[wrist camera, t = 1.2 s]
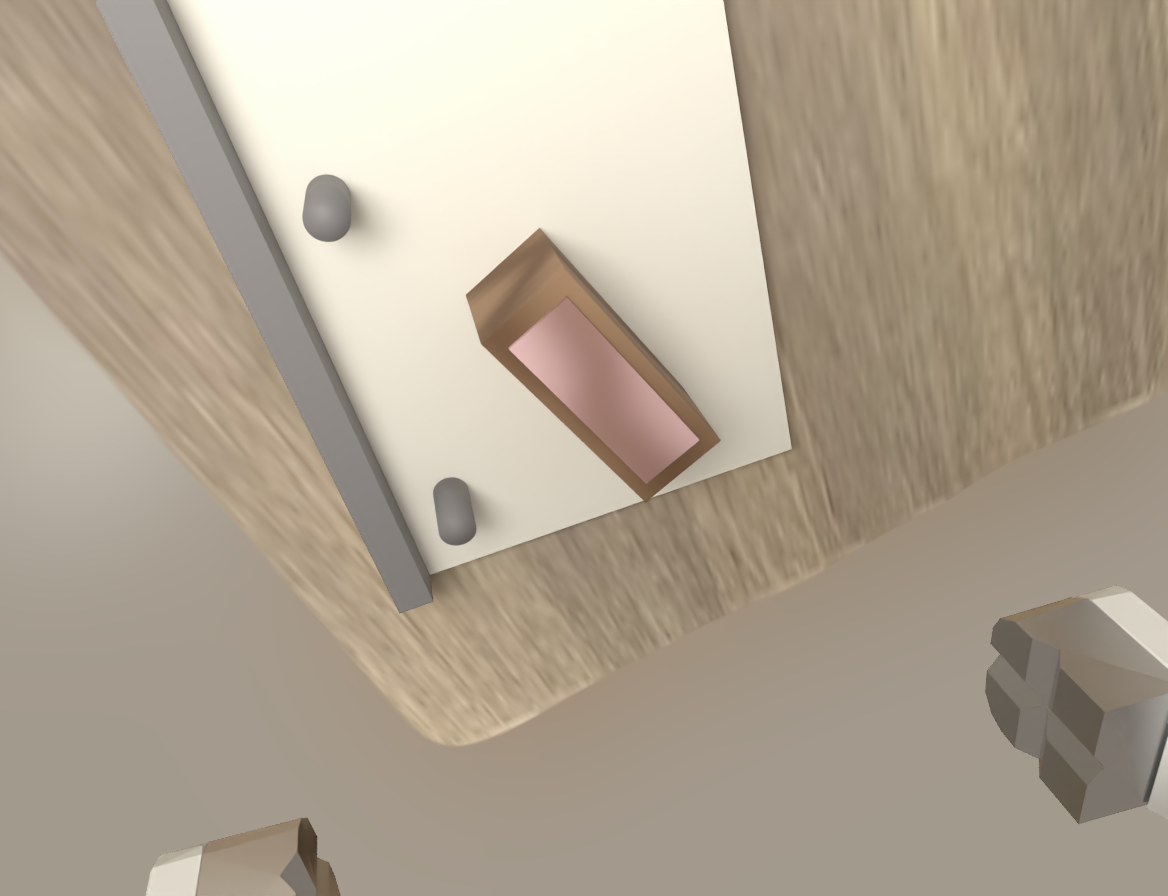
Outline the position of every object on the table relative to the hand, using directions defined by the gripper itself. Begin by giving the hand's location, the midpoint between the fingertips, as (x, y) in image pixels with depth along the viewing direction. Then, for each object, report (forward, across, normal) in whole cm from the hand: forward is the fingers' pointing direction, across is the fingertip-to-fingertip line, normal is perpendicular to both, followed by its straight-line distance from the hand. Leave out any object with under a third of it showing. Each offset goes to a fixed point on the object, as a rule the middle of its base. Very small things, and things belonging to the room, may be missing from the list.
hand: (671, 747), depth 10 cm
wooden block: (+28, -4, +8) cm, 30 cm away
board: (+29, -2, +4) cm, 30 cm away
